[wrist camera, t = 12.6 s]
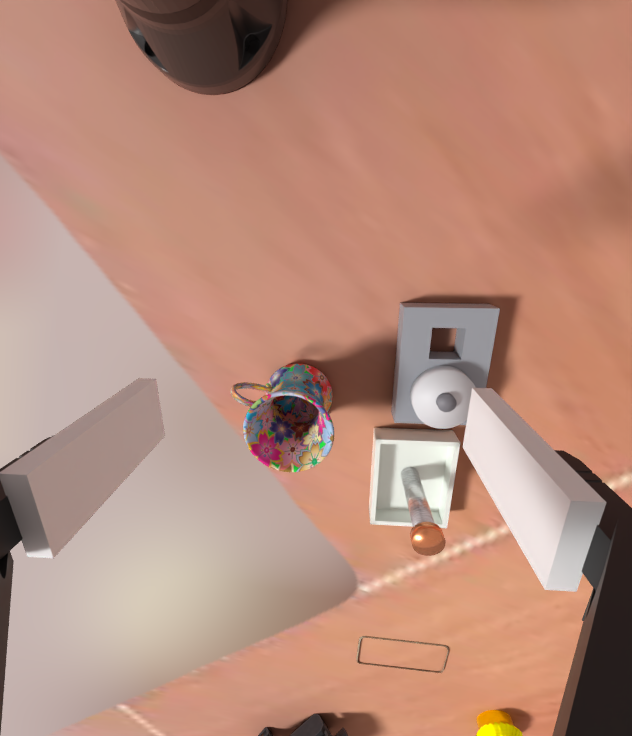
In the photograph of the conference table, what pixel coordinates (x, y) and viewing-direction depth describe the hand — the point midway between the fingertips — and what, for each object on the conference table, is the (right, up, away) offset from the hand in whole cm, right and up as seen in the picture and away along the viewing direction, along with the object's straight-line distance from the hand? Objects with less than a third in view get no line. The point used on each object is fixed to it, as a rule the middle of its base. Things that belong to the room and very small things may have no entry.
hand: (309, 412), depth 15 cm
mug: (-3, -1, +31) cm, 31 cm away
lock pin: (+13, -13, +33) cm, 38 cm away
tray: (+13, -12, +34) cm, 38 cm away
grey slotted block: (+15, +3, +29) cm, 32 cm away
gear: (+33, -63, +51) cm, 87 cm away
